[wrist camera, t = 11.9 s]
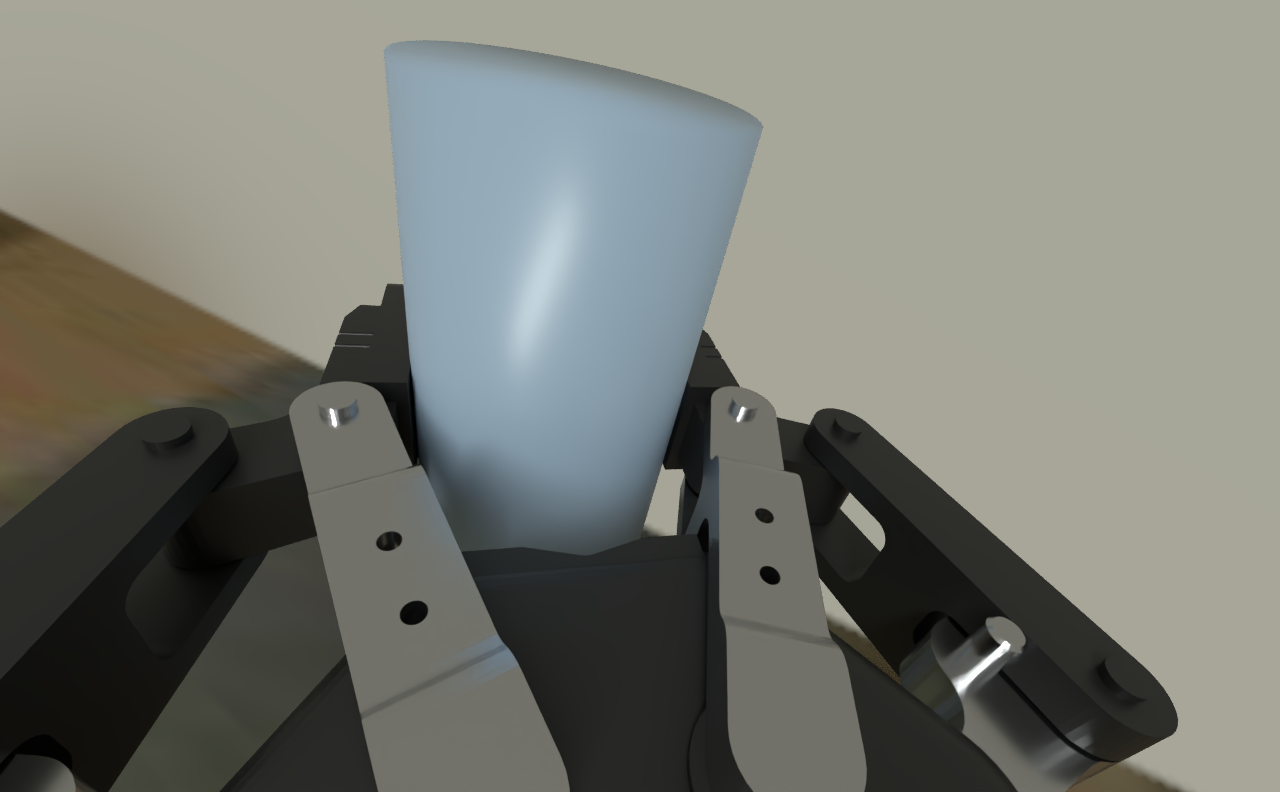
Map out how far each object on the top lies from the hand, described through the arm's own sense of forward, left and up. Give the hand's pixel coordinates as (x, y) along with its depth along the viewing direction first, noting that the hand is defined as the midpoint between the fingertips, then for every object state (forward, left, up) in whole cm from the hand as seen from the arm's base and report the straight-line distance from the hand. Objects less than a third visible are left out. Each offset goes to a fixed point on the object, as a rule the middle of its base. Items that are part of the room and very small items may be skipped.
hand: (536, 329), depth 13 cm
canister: (0, +3, -8) cm, 9 cm away
